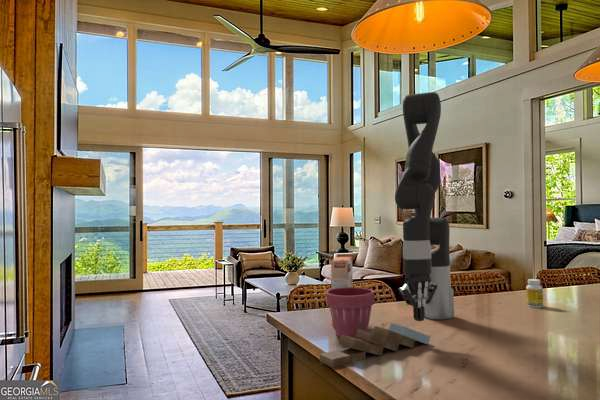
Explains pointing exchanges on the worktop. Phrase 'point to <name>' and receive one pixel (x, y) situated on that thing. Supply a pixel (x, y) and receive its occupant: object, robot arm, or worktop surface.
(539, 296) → the supplement bottle
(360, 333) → the domino
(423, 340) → the domino
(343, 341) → the domino
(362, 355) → the domino
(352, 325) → the plant pot
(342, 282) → the cracker box
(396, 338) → the domino
